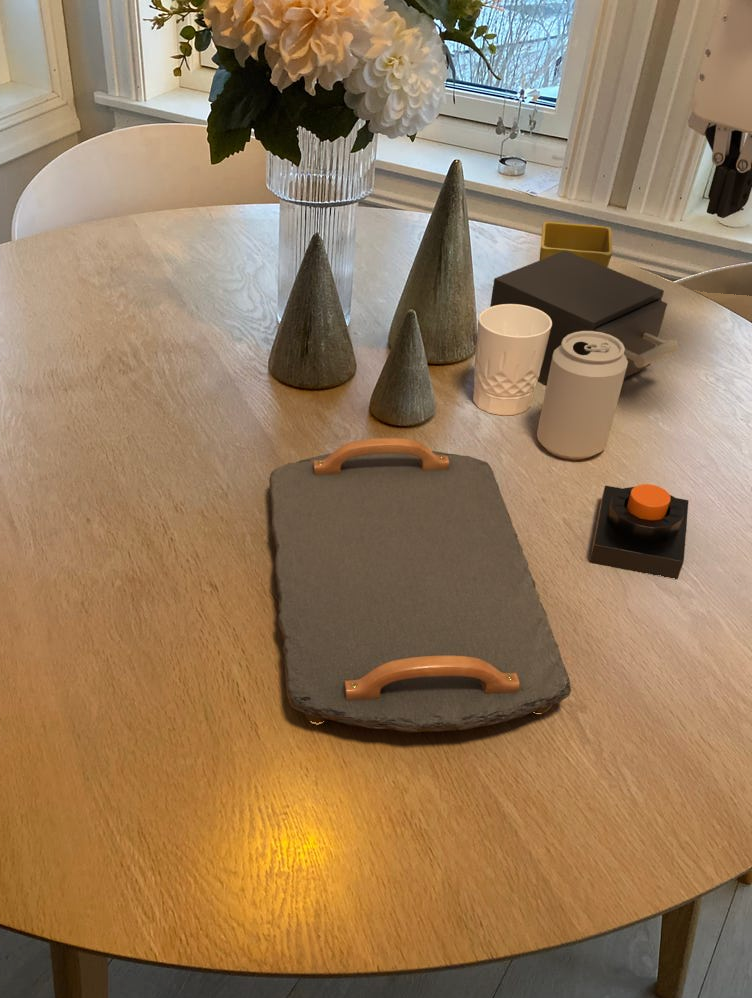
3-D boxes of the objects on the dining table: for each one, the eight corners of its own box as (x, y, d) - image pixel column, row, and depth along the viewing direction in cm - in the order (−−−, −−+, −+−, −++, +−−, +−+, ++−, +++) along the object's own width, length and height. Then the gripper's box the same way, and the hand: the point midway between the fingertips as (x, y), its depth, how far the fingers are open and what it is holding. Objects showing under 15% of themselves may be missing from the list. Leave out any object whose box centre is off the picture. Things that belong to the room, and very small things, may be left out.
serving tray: (580, 744, 78) (597, 690, 74) (287, 758, 77) (286, 704, 73) (481, 465, 106) (489, 414, 101) (264, 474, 105) (263, 423, 101)
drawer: (680, 378, 117) (699, 316, 111) (618, 411, 112) (635, 347, 106) (562, 324, 127) (575, 264, 121) (501, 351, 122) (511, 290, 116)
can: (535, 423, 112) (555, 323, 103) (604, 429, 110) (630, 329, 102) (534, 460, 106) (555, 357, 98) (606, 467, 105) (634, 364, 97)
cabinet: (643, 366, 120) (664, 290, 114) (575, 400, 115) (593, 322, 108) (550, 323, 129) (564, 250, 122) (483, 353, 123) (494, 278, 117)
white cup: (536, 421, 112) (553, 339, 105) (466, 416, 113) (477, 334, 106) (535, 386, 117) (551, 306, 110) (468, 381, 118) (479, 301, 112)
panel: (600, 503, 101) (609, 470, 98) (682, 518, 99) (693, 484, 96) (589, 562, 94) (598, 529, 91) (677, 580, 92) (689, 546, 89)
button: (628, 496, 96) (632, 481, 94) (667, 503, 95) (672, 487, 93) (624, 517, 93) (629, 502, 92) (664, 524, 92) (669, 509, 91)
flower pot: (597, 292, 135) (612, 225, 129) (597, 321, 129) (613, 253, 123) (531, 286, 137) (543, 220, 130) (528, 315, 131) (540, 247, 124)
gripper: (915, -25, 73) (825, 225, 86) (735, -52, 82) (678, 178, 95) (861, -7, 70) (776, 249, 83) (680, -38, 79) (628, 199, 92)
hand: (724, 211), depth 89 cm, fingers closed
